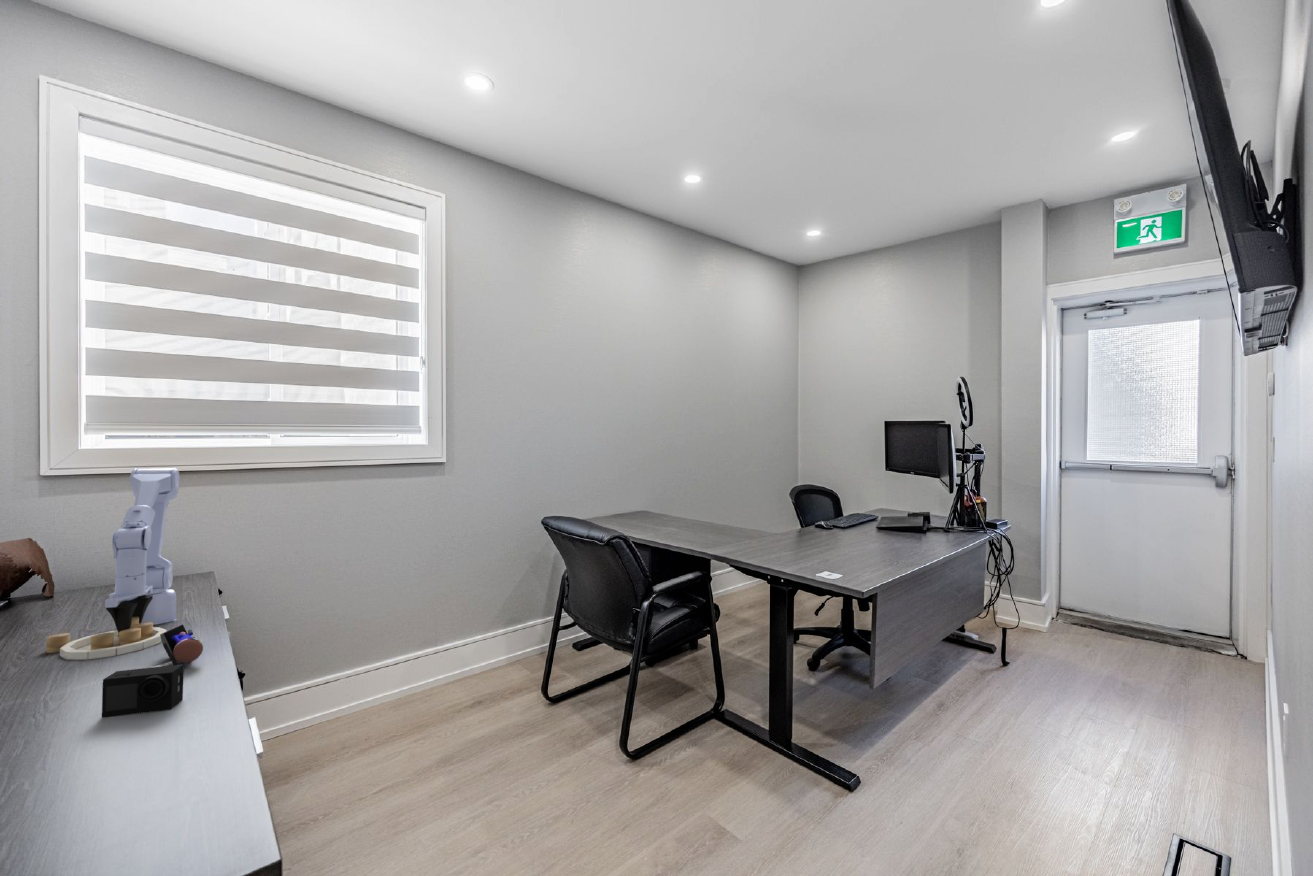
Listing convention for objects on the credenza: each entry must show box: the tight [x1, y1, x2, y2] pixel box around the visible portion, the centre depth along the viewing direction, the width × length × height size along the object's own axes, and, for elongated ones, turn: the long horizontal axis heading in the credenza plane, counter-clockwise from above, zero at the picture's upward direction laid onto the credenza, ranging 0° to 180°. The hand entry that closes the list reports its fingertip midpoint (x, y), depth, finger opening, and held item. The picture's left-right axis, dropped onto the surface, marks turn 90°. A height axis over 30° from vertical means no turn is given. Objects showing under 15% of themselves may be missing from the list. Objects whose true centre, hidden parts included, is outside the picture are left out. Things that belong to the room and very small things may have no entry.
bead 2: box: [118, 617, 139, 637], centre depth 138 cm, size 4×4×4 cm
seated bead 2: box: [119, 628, 141, 646], centre depth 132 cm, size 4×4×4 cm
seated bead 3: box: [132, 622, 154, 641], centre depth 137 cm, size 4×4×4 cm
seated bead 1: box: [90, 632, 114, 650], centre depth 129 cm, size 4×4×4 cm
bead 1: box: [45, 632, 71, 654], centre depth 130 cm, size 4×4×4 cm
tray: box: [59, 626, 168, 660], centre depth 133 cm, size 18×18×2 cm
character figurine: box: [160, 624, 204, 666], centre depth 124 cm, size 8×7×15 cm
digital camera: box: [101, 664, 185, 719], centre depth 101 cm, size 10×5×7 cm, turn 109°
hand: (129, 628), depth 138 cm, fingers closed on bead 2, 4 cm apart
